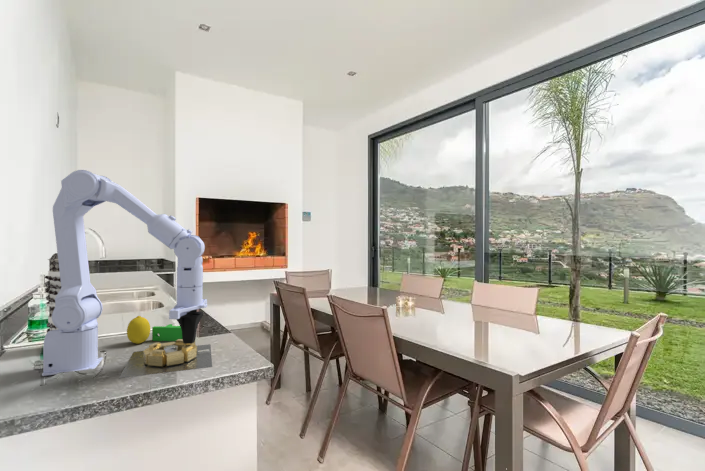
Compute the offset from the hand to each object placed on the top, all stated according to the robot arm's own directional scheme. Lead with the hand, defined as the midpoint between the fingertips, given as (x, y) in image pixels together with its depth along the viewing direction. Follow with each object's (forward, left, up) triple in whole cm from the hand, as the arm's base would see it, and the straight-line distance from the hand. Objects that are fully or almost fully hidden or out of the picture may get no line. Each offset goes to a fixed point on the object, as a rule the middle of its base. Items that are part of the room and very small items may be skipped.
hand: (189, 342), depth 89 cm
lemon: (-13, +18, -5) cm, 23 cm away
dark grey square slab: (-4, +1, -4) cm, 6 cm away
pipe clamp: (-4, +19, -5) cm, 20 cm away
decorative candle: (-30, +22, -5) cm, 37 cm away
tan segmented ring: (-4, +1, -4) cm, 6 cm away
